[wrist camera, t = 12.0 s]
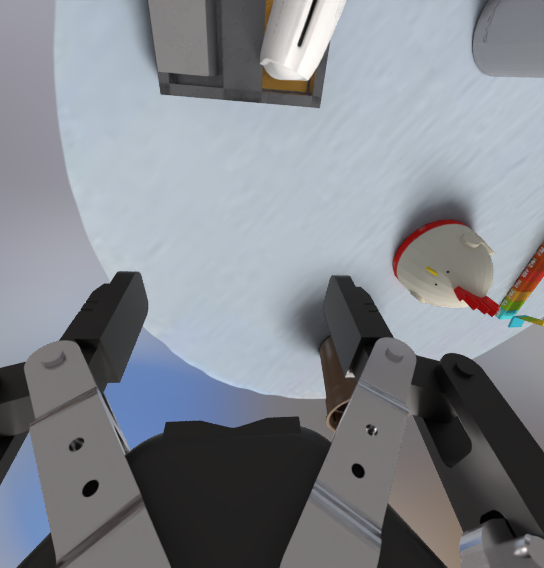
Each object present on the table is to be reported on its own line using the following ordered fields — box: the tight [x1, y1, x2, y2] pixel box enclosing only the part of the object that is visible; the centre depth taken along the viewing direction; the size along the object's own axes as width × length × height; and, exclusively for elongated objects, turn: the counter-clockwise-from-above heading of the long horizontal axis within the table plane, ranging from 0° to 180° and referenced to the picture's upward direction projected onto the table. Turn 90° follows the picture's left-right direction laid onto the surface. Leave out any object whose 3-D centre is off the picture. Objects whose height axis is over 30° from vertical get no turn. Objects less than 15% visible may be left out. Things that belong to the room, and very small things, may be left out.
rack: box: [148, 0, 330, 108], centre depth 24 cm, size 17×14×11 cm
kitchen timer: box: [393, 220, 500, 317], centre depth 43 cm, size 14×14×15 cm
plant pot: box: [320, 336, 410, 432], centre depth 57 cm, size 16×16×16 cm
